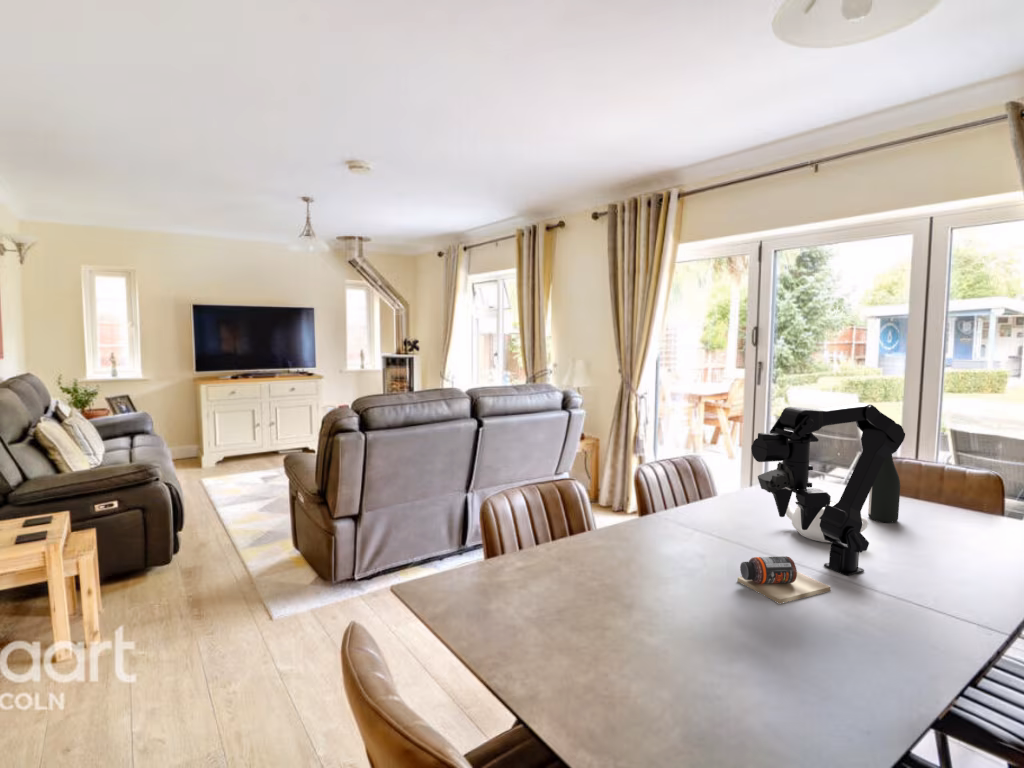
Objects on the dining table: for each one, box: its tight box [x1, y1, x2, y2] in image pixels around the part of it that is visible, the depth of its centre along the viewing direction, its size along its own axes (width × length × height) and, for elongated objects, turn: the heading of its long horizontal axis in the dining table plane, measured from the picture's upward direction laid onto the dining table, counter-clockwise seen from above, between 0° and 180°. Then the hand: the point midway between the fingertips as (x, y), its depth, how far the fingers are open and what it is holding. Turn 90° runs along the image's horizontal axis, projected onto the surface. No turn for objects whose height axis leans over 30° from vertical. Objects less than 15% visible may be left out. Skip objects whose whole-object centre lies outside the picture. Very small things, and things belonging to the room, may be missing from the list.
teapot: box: [785, 500, 869, 543], centre depth 161 cm, size 25×16×12 cm, turn 40°
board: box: [737, 571, 832, 605], centre depth 129 cm, size 16×12×1 cm
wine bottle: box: [867, 454, 901, 524], centre depth 175 cm, size 8×8×30 cm
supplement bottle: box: [739, 555, 798, 584], centre depth 129 cm, size 6×6×11 cm
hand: (792, 523), depth 134 cm, fingers open, 9 cm apart
